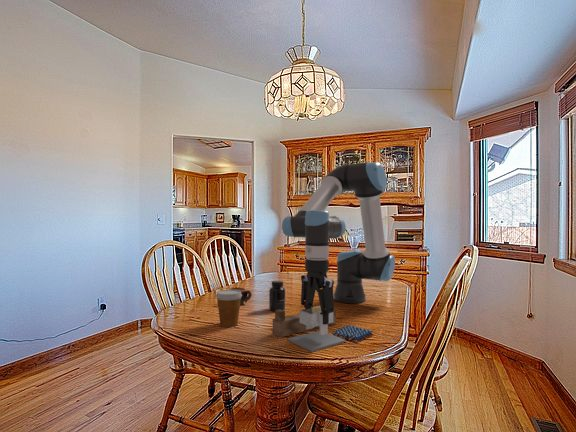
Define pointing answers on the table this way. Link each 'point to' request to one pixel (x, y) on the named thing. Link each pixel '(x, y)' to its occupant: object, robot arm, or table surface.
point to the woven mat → (353, 333)
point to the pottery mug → (243, 295)
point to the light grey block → (312, 316)
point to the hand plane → (291, 324)
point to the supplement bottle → (277, 296)
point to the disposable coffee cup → (228, 307)
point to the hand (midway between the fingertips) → (316, 331)
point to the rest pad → (316, 341)
